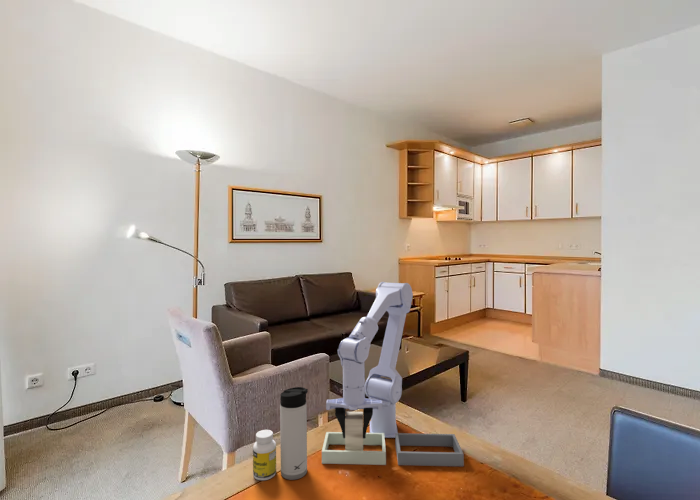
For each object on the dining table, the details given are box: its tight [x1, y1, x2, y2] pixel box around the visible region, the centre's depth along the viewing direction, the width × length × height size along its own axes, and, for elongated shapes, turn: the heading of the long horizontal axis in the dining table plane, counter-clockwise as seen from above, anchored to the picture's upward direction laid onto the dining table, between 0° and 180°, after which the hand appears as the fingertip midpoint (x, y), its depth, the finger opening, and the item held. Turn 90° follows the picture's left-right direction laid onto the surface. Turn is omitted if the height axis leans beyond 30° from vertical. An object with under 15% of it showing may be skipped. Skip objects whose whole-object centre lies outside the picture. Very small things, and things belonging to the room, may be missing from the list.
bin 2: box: [395, 432, 465, 467], centre depth 96 cm, size 10×16×3 cm, turn 87°
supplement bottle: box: [252, 429, 277, 481], centre depth 88 cm, size 5×5×10 cm
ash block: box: [344, 411, 364, 451], centre depth 97 cm, size 4×4×9 cm
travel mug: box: [279, 386, 309, 481], centre depth 89 cm, size 6×7×20 cm
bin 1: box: [321, 431, 387, 466], centre depth 97 cm, size 10×16×3 cm, turn 87°
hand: (354, 436), depth 97 cm, fingers closed on ash block, 4 cm apart
